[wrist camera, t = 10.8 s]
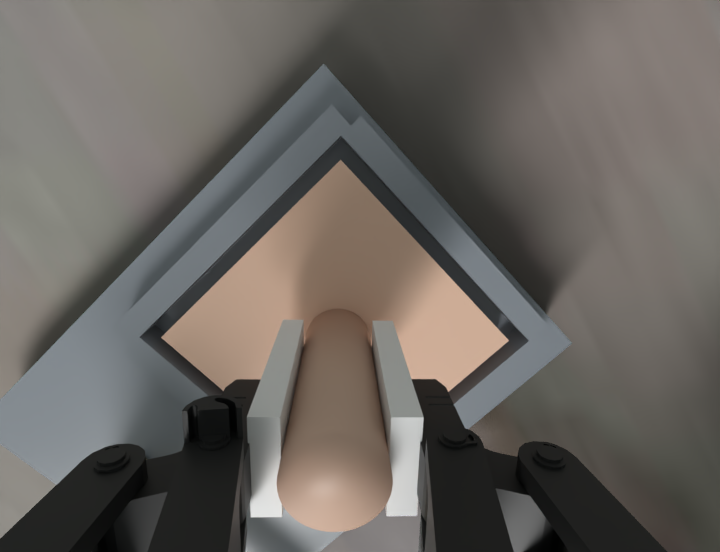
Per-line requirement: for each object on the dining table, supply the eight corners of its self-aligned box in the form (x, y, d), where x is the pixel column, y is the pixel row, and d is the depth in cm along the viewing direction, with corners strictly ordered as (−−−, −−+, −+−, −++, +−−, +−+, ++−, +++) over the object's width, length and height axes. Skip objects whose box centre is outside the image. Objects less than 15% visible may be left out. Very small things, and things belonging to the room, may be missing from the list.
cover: (340, 160, 18) (339, 157, 8) (496, 327, 20) (641, 482, 10) (174, 324, 19) (8, 485, 10) (336, 465, 21) (331, 714, 12)
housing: (326, 77, 20) (321, 54, 16) (543, 320, 23) (589, 357, 19) (21, 392, 23) (-54, 446, 19) (250, 567, 26) (232, 648, 22)
